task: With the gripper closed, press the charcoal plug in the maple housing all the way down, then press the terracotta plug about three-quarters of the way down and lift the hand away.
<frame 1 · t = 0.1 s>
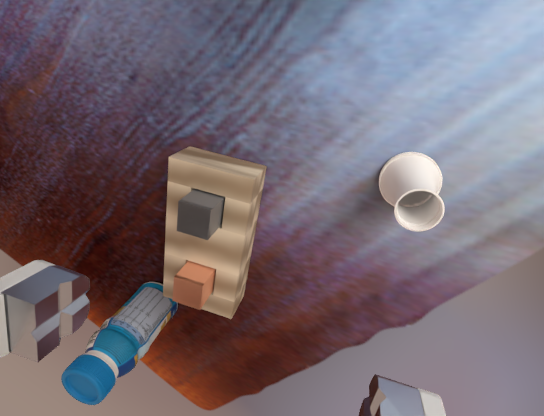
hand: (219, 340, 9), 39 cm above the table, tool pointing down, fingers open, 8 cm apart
vase: (408, 179, 45), on the table
terracotta plug: (195, 282, 51), point 7 cm above the table, slide at 0.0 cm
beverage bottle: (160, 297, 65), on the table
maple housing: (218, 226, 55), on the table
charcoal plug: (202, 212, 46), point 7 cm above the table, slide at 0.0 cm
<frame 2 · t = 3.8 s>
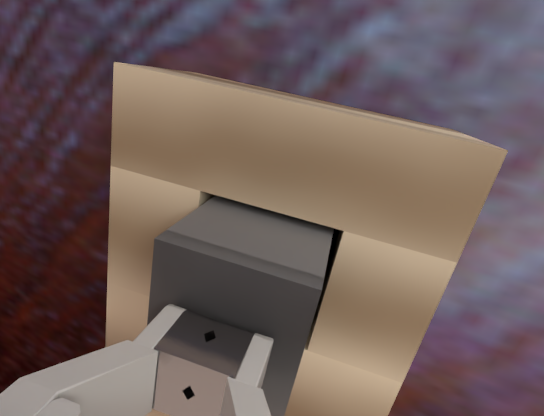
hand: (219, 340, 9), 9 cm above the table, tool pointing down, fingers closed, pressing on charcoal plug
maple housing: (266, 310, 20), on the table
charcoal plug: (251, 281, 12), point 7 cm above the table, slide at 0.7 cm, touching gripper
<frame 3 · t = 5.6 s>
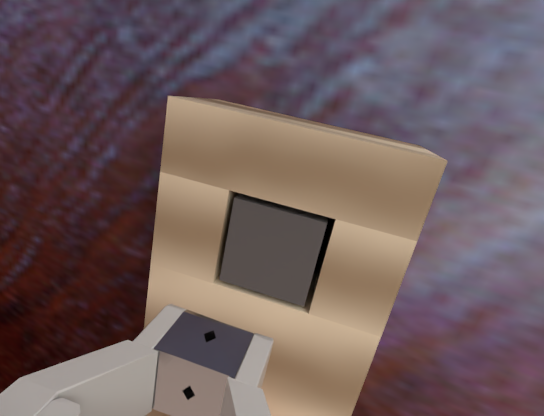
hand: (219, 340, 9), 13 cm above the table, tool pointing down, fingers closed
maple housing: (272, 295, 24), on the table
charcoal plug: (281, 233, 19), point 3 cm above the table, slide at 4.0 cm
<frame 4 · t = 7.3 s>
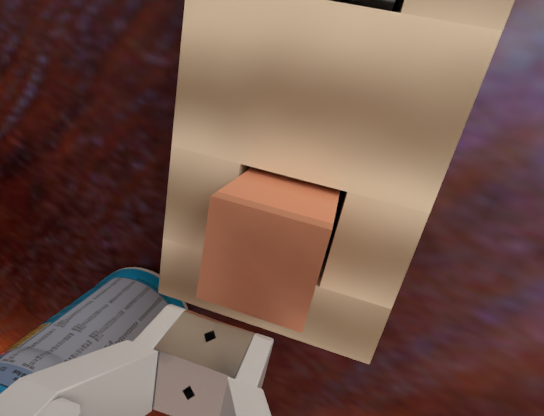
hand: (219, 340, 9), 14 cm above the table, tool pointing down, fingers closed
terracotta plug: (275, 237, 15), point 7 cm above the table, slide at 0.0 cm
beverage bottle: (149, 307, 28), on the table
maple housing: (325, 96, 20), on the table
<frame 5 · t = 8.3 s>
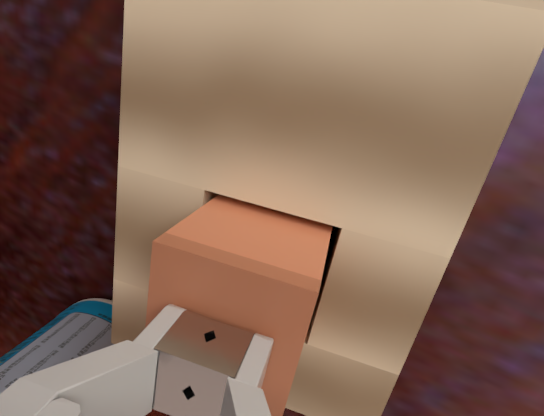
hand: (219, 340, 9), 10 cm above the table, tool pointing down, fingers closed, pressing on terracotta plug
terracotta plug: (249, 283, 12), point 7 cm above the table, slide at 0.3 cm, touching gripper
beverage bottle: (117, 342, 25), on the table
maple housing: (315, 102, 16), on the table
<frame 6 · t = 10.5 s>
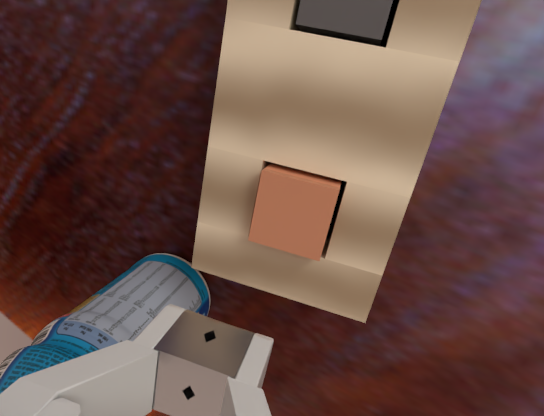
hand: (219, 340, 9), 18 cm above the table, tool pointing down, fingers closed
terracotta plug: (298, 203, 22), point 4 cm above the table, slide at 2.8 cm
beverage bottle: (173, 289, 32), on the table
maple housing: (328, 106, 24), on the table
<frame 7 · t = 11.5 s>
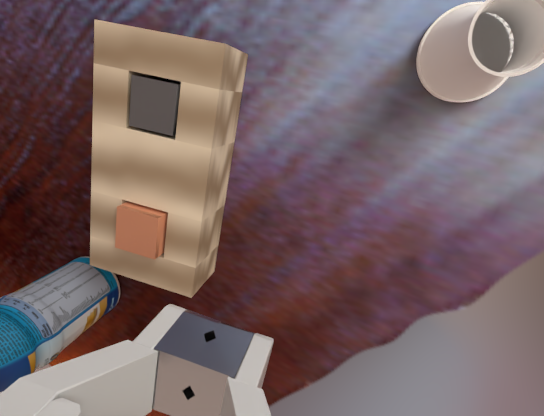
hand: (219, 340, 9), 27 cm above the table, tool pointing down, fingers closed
vase: (463, 56, 29), on the table
terracotta plug: (152, 224, 35), point 4 cm above the table, slide at 2.8 cm
beverage bottle: (96, 282, 46), on the table
maple housing: (178, 161, 38), on the table
charcoal plug: (168, 105, 33), point 3 cm above the table, slide at 4.0 cm
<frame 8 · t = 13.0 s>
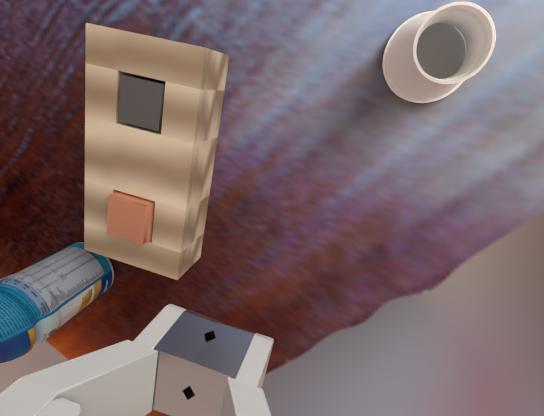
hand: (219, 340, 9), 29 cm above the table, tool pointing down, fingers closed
vase: (425, 59, 31), on the table
terracotta plug: (141, 212, 38), point 4 cm above the table, slide at 2.8 cm
beverage bottle: (92, 266, 49), on the table
maple housing: (166, 154, 40), on the table
charcoal plug: (155, 102, 35), point 3 cm above the table, slide at 4.0 cm
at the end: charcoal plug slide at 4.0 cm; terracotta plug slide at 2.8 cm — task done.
